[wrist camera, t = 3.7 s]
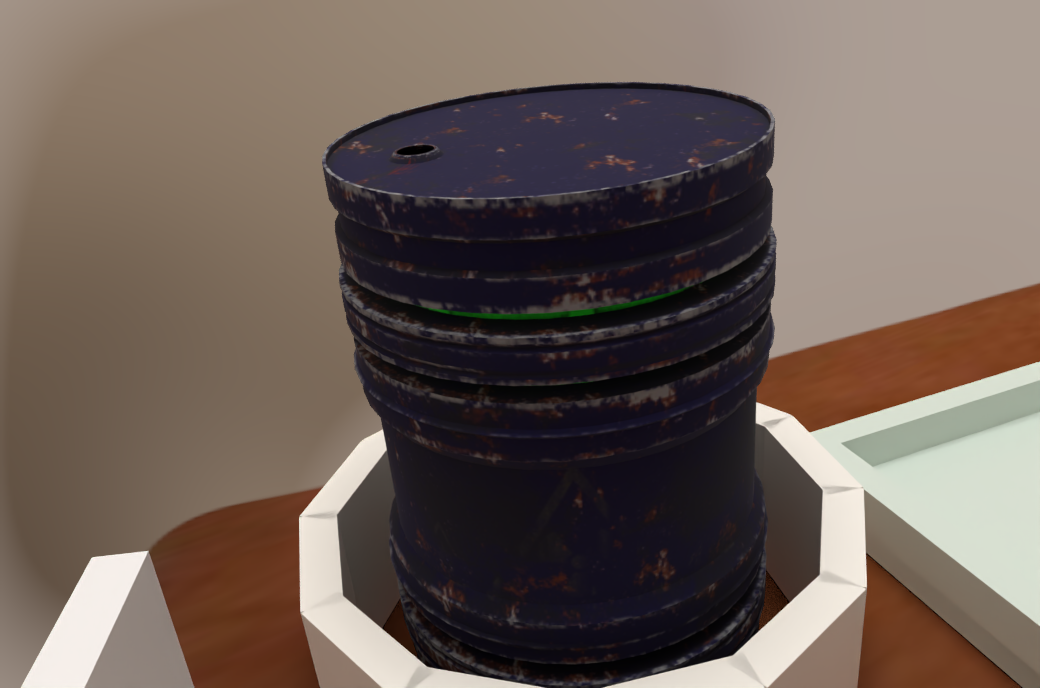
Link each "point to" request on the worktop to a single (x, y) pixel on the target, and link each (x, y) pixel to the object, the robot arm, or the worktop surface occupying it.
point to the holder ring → (715, 684)
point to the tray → (959, 507)
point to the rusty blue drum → (566, 370)
